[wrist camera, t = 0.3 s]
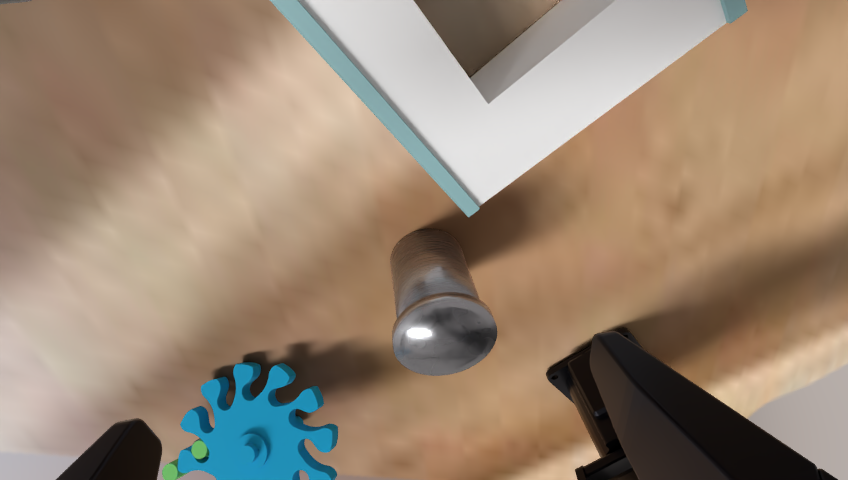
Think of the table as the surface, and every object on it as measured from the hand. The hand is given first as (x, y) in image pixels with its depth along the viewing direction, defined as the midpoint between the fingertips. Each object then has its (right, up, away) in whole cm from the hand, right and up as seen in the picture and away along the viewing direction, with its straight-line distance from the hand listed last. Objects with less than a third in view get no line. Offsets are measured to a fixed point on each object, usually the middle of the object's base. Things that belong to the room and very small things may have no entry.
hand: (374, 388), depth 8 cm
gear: (-10, -7, +20) cm, 23 cm away
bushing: (+1, +2, +15) cm, 15 cm away
